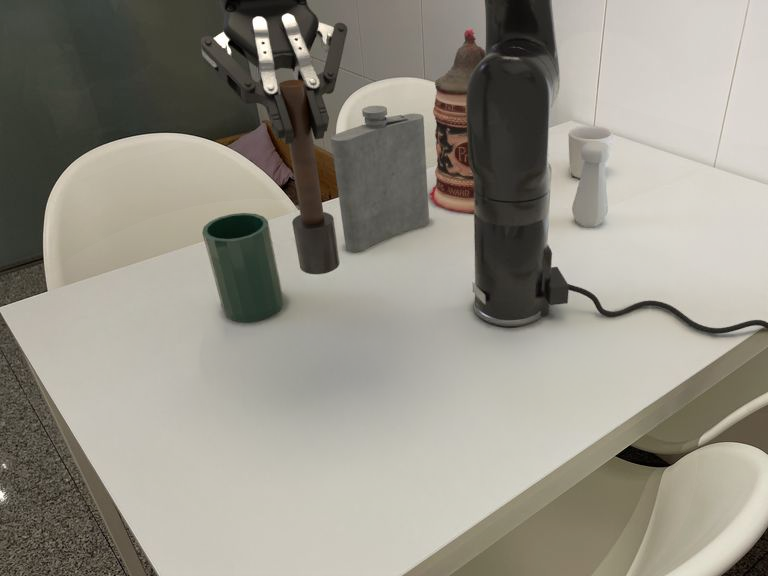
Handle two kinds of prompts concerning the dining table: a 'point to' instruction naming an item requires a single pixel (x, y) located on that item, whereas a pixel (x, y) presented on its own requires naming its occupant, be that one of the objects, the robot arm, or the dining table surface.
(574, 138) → the cup
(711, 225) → the dining table surface
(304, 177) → the bottle brush
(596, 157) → the salt shaker
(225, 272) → the green cylindrical holder
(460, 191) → the beer stein
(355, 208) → the hip flask
